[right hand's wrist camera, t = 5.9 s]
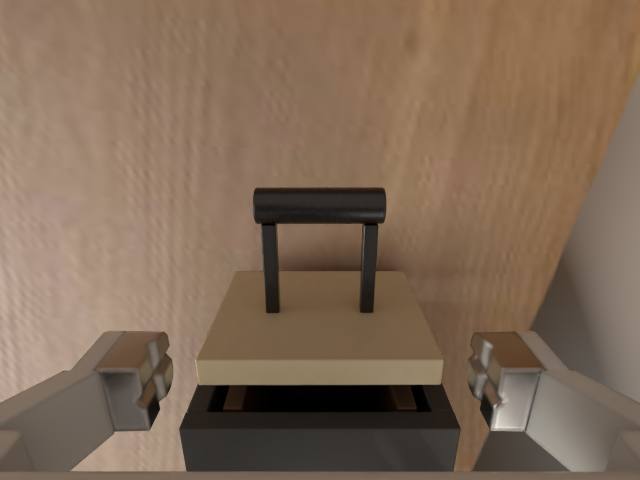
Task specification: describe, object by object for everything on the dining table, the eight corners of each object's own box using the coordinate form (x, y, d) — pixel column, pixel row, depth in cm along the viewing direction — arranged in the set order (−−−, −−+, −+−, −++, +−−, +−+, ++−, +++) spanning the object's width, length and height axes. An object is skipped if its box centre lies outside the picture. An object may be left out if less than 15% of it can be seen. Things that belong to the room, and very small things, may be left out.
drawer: (226, 168, 20) (173, 215, 12) (413, 168, 20) (465, 214, 13) (251, 455, 27) (227, 586, 20) (388, 454, 27) (413, 586, 20)
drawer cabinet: (231, 300, 23) (178, 429, 15) (408, 300, 23) (461, 428, 15) (248, 479, 29) (217, 650, 20) (391, 479, 29) (422, 650, 20)
